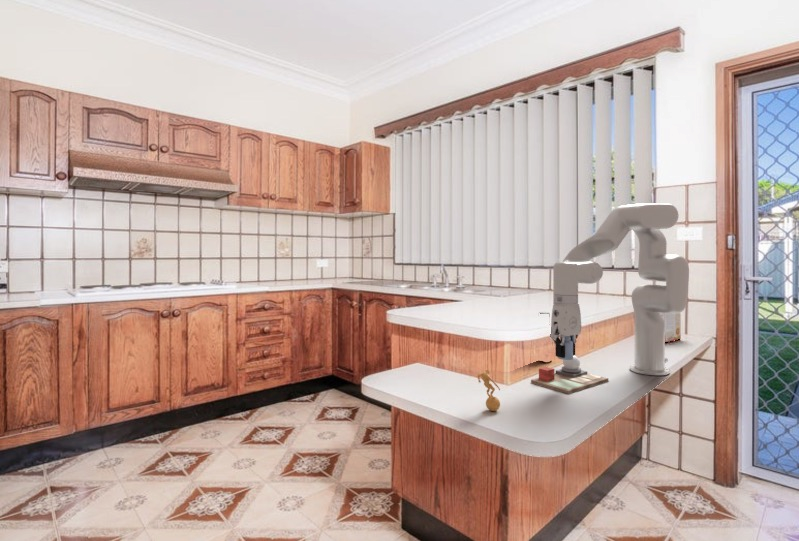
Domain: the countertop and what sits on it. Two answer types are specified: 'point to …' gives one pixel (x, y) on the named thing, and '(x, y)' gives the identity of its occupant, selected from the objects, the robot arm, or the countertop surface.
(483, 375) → the figurine
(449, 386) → the countertop surface
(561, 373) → the game board
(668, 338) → the cracker box
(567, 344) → the blue stoppered bottle
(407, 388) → the countertop surface
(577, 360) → the white ball on base
